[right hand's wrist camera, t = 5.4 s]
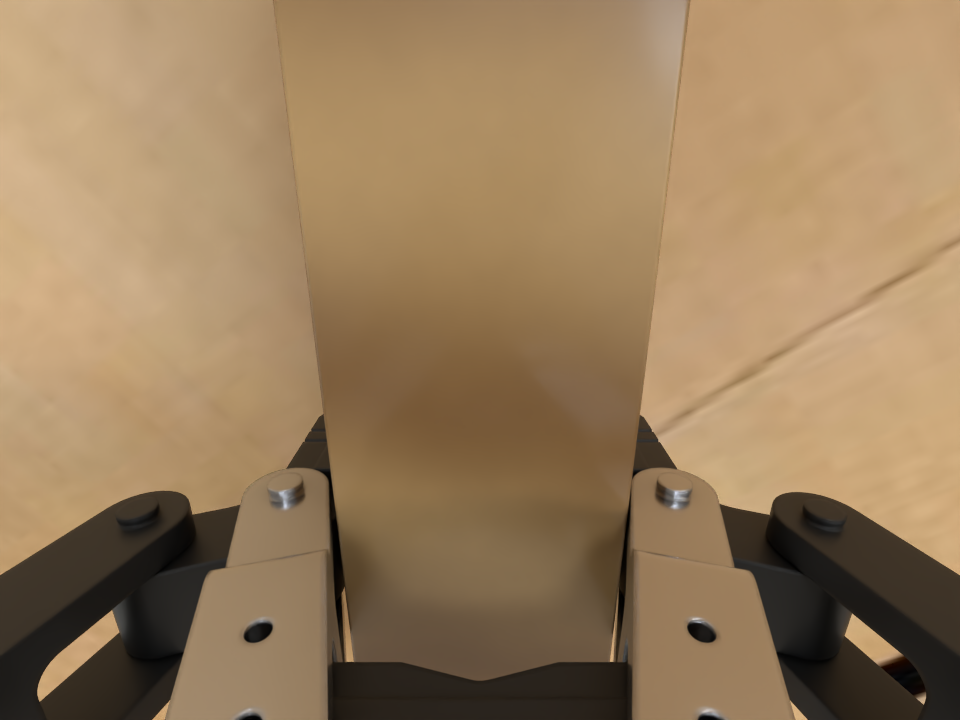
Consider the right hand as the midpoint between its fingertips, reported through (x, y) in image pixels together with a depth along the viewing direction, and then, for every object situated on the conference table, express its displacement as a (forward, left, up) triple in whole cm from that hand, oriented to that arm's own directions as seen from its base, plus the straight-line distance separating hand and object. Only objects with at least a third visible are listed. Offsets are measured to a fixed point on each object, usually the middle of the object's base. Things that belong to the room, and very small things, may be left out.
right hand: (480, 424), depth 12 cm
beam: (+15, -26, -2) cm, 30 cm away
